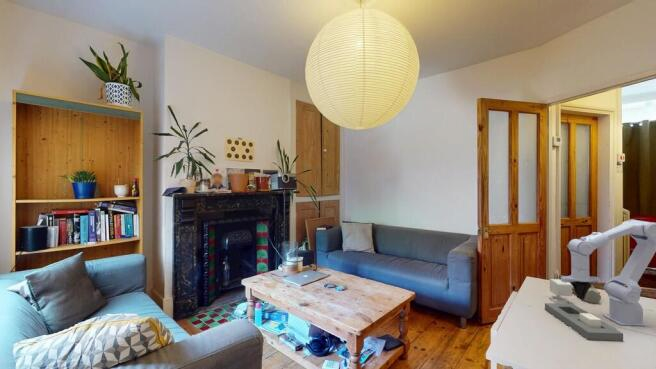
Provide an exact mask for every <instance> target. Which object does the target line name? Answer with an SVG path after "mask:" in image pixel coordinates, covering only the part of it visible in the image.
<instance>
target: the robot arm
mask: <svg viewBox="0 0 656 369" xmlns="http://www.w3.org/2000/svg"><path fill="white" fill-rule="evenodd" d="M627 235H629V236H630V237H631V238H633V239H634V240H635V242H636V243H637V244H636V246H635V248H634V249H633V251H632V253H631V254H630V256H629V258H628V260H627V261H626V263H625V265H623V266H624V267H623V268H622V270H621V272H620V274H618V275H615V276H613V277H611V278H610V279H609V280H608V281H606V283H605V284H604V286H603V287H604V288H603V289H604V292H605V293H607V297H609V298H608V300H609V301H608V303H609V306H608V308H609V311H608V312H609V313H608V314H605V313H604V314H603V316H604V317H606V318H607V319H609V320H611V321H613V322H614V323H616V324H618V325H620V326H639V327H640V326H644V327H645V326H646V323H645V324H644V309H643V307H642V305H641V304H640V302H639V301H640V299H641V292H642V290H643V289H642V288H641V286H640V285H639V284H638V282H639V281H640V280H641V278H642V276H643V274H644V272H645V271H646V269H647V267H648V265H649V264H650V263H651V260H652V259H653V257H654V256H655V253H656V222H650V221H644V220H637V219H633V218H632V219H631V218H630V219H628V220H625V221H622V223H621V224H619V225H618V226H617V225H616V226H615V227H612V228H611V229H609V230H606V231H604V232H599V231H598V232H597V231H596V232H595V231H593V232H591V234H588V235H587V236H581V237H580V238H574V239H571V240H570V241H569V242H568V244H567V249H568V250H569V252H570V253H569V254H570V256H571V258H570V259H571V260H570V262H571V263H570V264H571V268H570V270H571V274H570V275H566V276H560V280H561V281H562V282H564V283H567V282H569V283H571V284H572V287H573V288H574V290H575V292H576V293H575V294H576V298H577V299H579V300H583V299H584V298H585V295H586V293H587V291H588V290H589V288H590V287H591V285H592V284H591V283H601V278H600V277H597V276H590V255H592V253H593V252H594V251H595V250H597V249H598V248H602V247H605V246H607V245H609V243H610V241H611V240H615V239H617V238H621V237H624V236H627Z"/></svg>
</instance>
